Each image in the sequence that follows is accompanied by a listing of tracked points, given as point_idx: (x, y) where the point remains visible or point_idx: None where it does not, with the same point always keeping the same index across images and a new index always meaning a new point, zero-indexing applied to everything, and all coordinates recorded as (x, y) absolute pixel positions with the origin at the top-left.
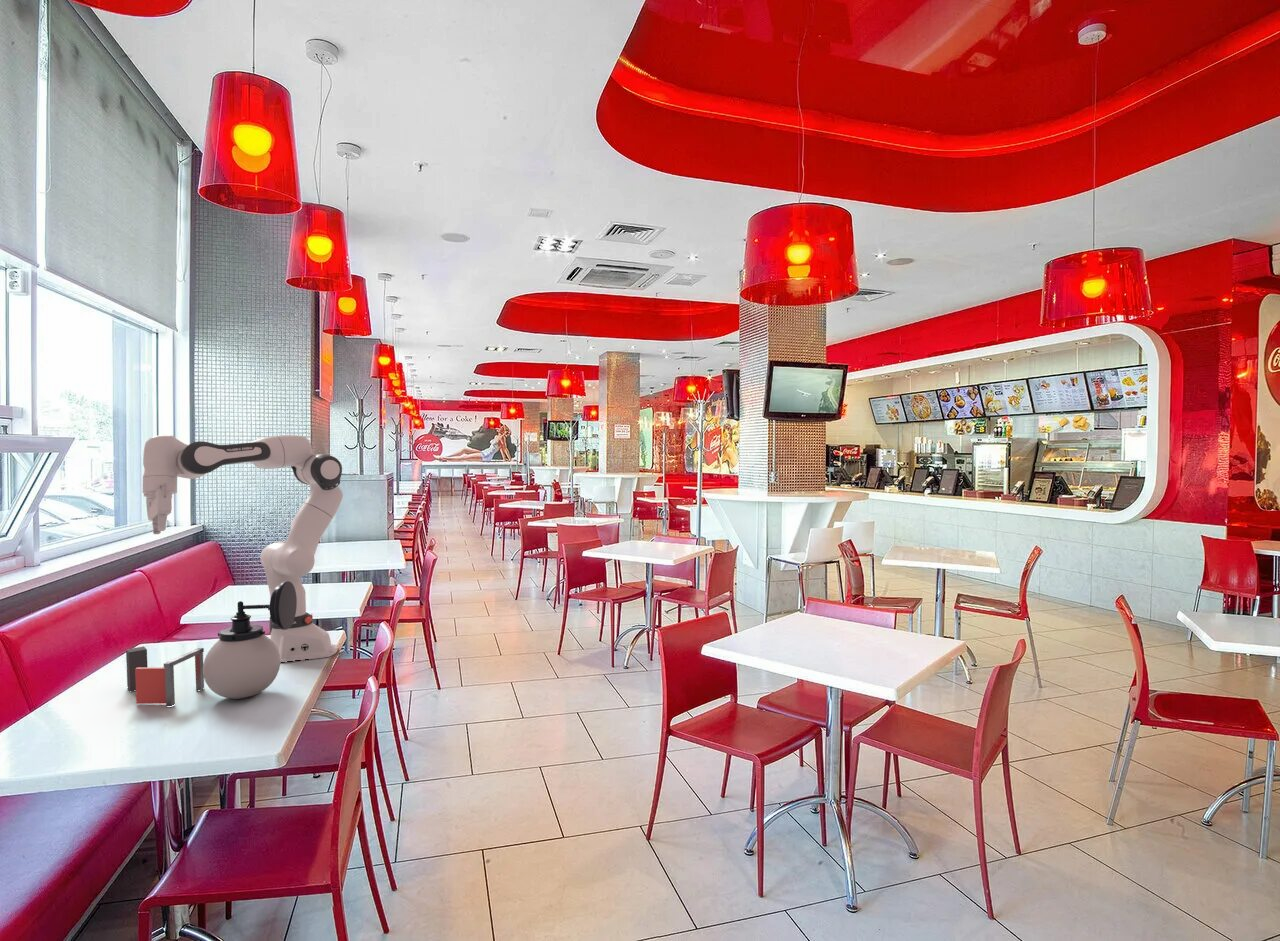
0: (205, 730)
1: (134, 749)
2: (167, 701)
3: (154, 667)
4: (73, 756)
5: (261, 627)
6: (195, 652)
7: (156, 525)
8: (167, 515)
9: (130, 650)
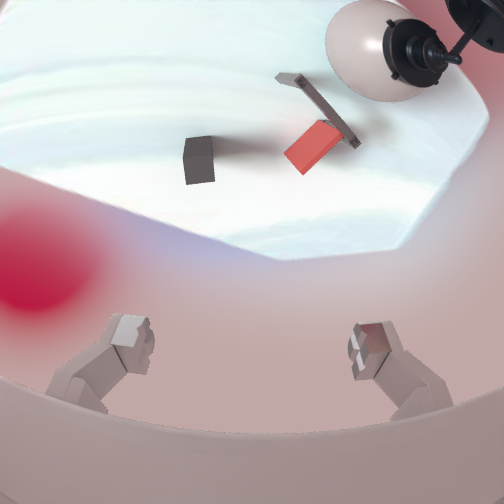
0: (423, 123)
1: (415, 179)
2: None
3: (320, 152)
4: (391, 216)
5: (429, 27)
6: (317, 91)
7: (101, 378)
8: (391, 421)
9: (201, 178)
